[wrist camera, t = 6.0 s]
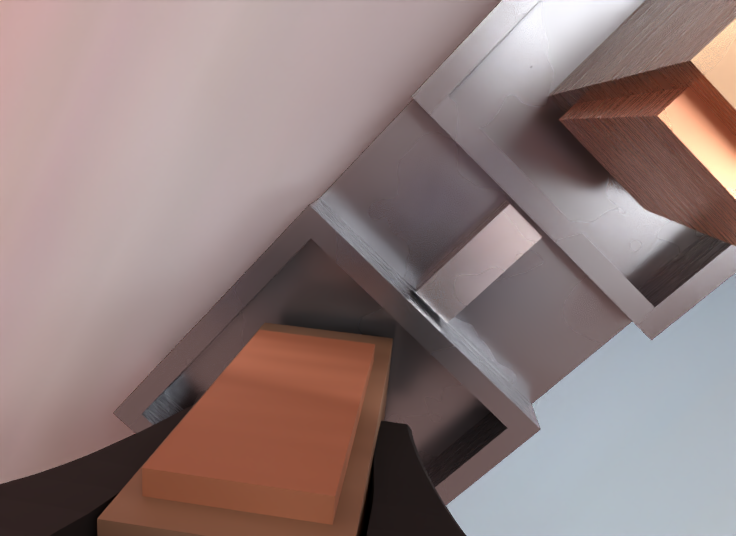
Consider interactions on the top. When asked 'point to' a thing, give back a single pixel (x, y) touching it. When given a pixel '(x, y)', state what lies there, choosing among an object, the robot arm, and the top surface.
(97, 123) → the top surface
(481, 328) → the grey compartment box
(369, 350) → the wooden block with lid
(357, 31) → the top surface
